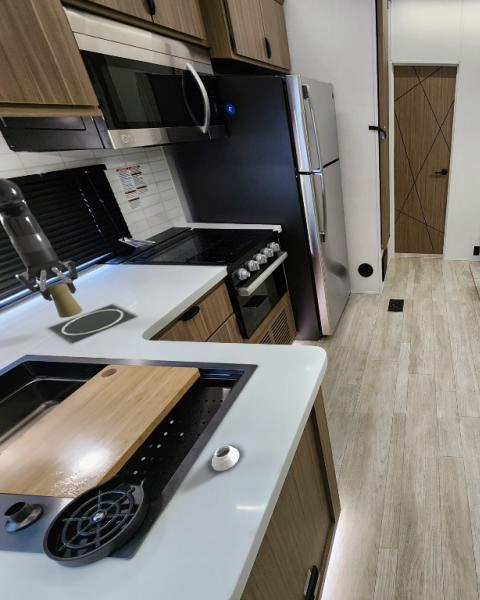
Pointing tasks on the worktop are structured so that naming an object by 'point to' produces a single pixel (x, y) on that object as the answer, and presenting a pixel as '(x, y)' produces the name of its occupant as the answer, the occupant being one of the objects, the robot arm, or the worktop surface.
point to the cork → (63, 300)
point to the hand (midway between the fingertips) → (61, 296)
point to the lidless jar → (225, 458)
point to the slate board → (91, 323)
